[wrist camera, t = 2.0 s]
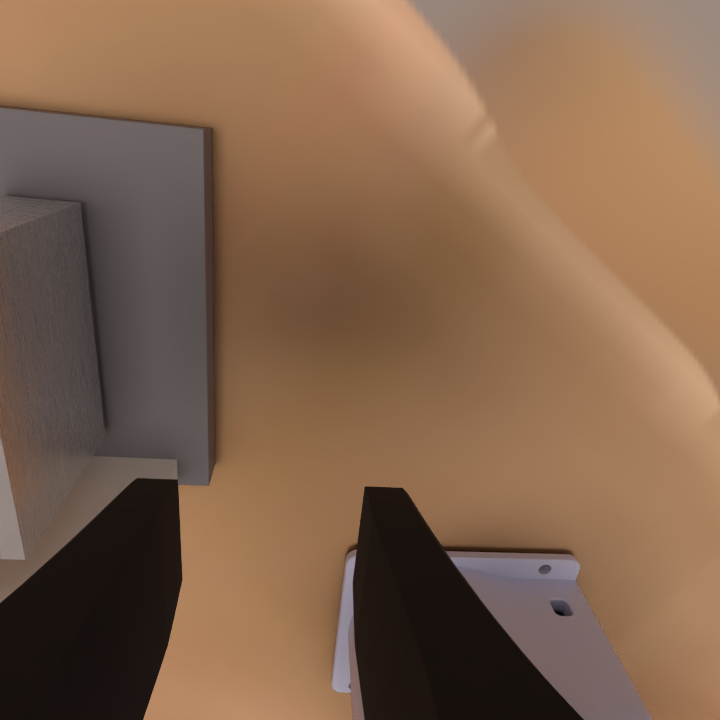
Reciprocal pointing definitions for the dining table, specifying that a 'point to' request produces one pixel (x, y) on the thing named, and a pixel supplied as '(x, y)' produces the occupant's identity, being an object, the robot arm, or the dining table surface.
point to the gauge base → (129, 296)
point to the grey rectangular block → (43, 366)
